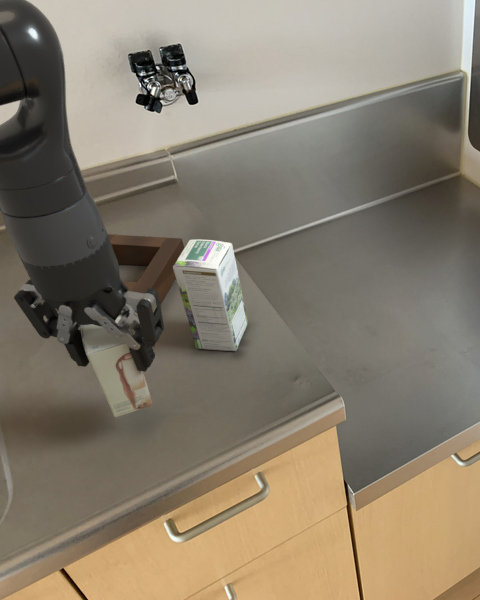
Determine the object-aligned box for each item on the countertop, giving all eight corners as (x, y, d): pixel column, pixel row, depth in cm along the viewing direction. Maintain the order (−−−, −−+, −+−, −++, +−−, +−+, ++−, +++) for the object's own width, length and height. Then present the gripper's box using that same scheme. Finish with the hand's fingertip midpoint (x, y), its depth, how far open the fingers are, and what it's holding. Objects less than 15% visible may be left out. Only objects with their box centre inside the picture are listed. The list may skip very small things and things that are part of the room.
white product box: (154, 405, 70) (130, 343, 63) (114, 419, 68) (84, 357, 61) (145, 374, 73) (122, 312, 66) (107, 387, 71) (78, 325, 65)
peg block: (65, 309, 89) (54, 288, 86) (107, 253, 99) (99, 233, 96) (154, 315, 88) (147, 294, 85) (187, 258, 98) (182, 238, 95)
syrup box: (210, 320, 87) (186, 237, 77) (250, 323, 87) (231, 240, 77) (195, 349, 83) (169, 265, 73) (238, 352, 82) (217, 268, 73)
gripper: (154, 220, 58) (192, 344, 69) (10, 210, 59) (70, 334, 70) (119, 269, 53) (166, 395, 64) (-39, 257, 53) (34, 383, 65)
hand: (115, 362), depth 67 cm, fingers closed on white product box, 6 cm apart
